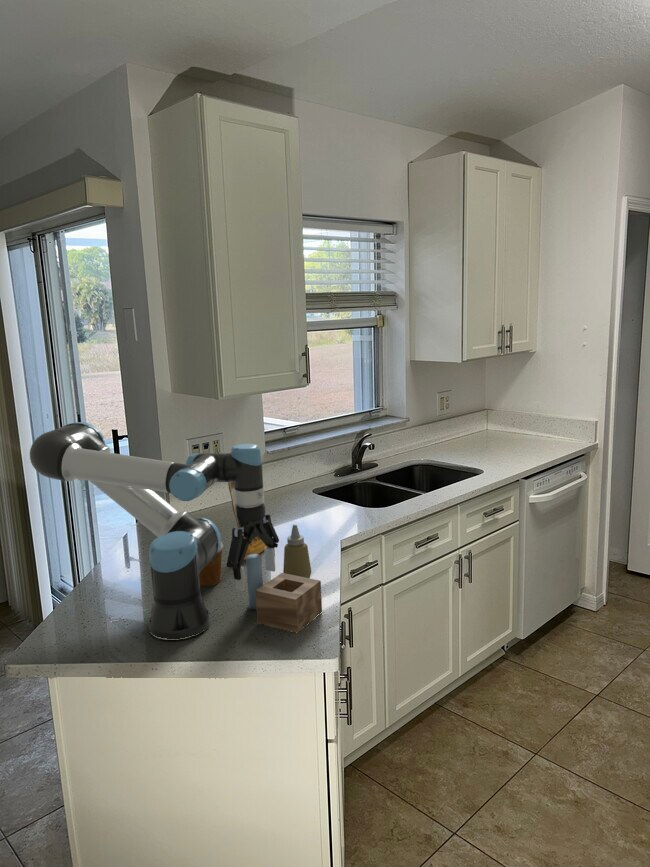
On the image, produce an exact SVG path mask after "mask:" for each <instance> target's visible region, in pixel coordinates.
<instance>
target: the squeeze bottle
mask: <svg viewBox="0 0 650 867" xmlns="http://www.w3.org/2000/svg"><path fill="white" fill-rule="evenodd" d="M299 531H300V530H299V528H298V525H297V524H293V525H292V529H291V534H290V535H289V536H287V538H286V540H287V544H285V546H284V550H283V551H284V552H283V572H282V573H285V574H290V575H295V576H300V577H305V578H310V579H311V575H312V567H311V561H310V553H309V548H308V544H307V543H305V538H304V536H303V535H302V534H300V532H299Z"/></svg>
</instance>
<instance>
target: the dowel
mask: <svg viewBox="0 0 650 867" xmlns="http://www.w3.org/2000/svg"><path fill="white" fill-rule="evenodd" d="M245 562H246V563H245V564H246V577H247V591H248V605H249V606H248V607H249V609H251V610H257V607H256V592H255V590H257V589H258V588H260V587H261V586H263V585H264V581H263V580H264V579H263V566H262V555H260V554H251V555H248V556H246V560H245Z"/></svg>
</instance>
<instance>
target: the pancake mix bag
mask: <svg viewBox="0 0 650 867" xmlns="http://www.w3.org/2000/svg"><path fill="white" fill-rule="evenodd" d="M227 483H228V490H229V493H230V498H231V499H230V500H231V505H232V506H231V507H232V512H233V515H234V518H235V521H236V525H237V526H236V528H240V521H239V520H238V519H237V514H236V506H237V504H236V503H235V491H234V482H227ZM263 503H264V504H265V501H264V502H263ZM244 539H246V538H245V537H244ZM265 547H267V546H266V545H265V544H264V542H263V541H262V540H261V539H260V538H259V537H255V539H253V540H252V542H251V543H250V544H249V546H248V549H247V552H246V555H245V558H244V560H243V561H246V556H248V555H251V554H259V555H260V554H261V553H262V552H264V548H265Z"/></svg>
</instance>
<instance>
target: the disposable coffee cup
mask: <svg viewBox="0 0 650 867" xmlns="http://www.w3.org/2000/svg"><path fill="white" fill-rule="evenodd" d="M223 548H224V544H223V542H222V541H221V545H220V548H219V550H218V552H217V554H216V556H215V557H214V558H213V560H212V561H210V562H209V563H208V564H207V565H206V566H205V568H204V569H203V570H202V571H201V572H200V573H199V580H200V586H203V587H209V586H215V585H217V584H220V582H221V578H222V577H221V573H222V556H223Z"/></svg>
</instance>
